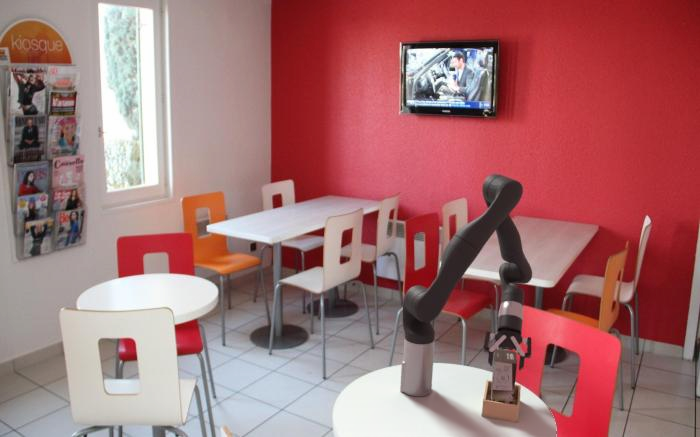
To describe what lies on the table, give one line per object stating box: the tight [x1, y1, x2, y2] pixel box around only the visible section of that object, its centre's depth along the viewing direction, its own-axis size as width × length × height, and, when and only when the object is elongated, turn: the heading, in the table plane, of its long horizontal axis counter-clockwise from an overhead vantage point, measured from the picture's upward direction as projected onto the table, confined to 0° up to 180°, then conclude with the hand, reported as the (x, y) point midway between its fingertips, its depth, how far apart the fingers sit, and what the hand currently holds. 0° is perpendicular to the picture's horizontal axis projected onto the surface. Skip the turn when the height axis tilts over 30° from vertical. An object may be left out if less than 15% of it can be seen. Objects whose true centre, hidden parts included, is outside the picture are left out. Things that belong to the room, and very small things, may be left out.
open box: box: [481, 379, 522, 423], centre depth 188 cm, size 10×13×5 cm
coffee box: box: [491, 349, 518, 404], centre depth 187 cm, size 9×6×16 cm
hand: (505, 367), depth 192 cm, fingers open, 8 cm apart
